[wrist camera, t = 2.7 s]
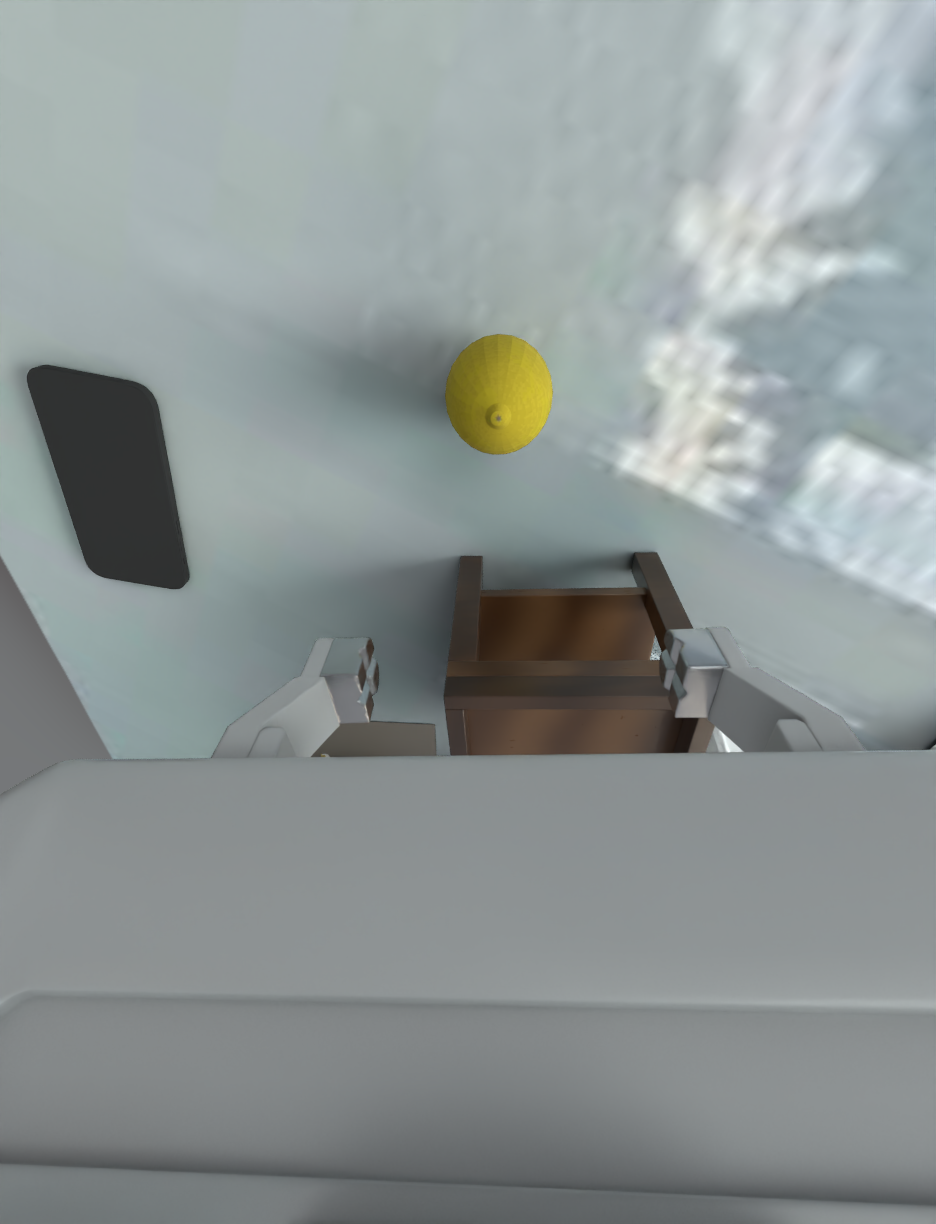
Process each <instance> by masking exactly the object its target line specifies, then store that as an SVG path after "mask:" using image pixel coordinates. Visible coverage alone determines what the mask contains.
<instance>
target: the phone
mask: <svg viewBox="0 0 936 1224" xmlns="http://www.w3.org/2000/svg"><path fill="white" fill-rule="evenodd" d="M27 383H28V387H29V390H30V393H31V396H32V399H33V402H34V406H35V409H36V412H37V415H38V418H39V421H40V424H41V427H42V430H43V433H44V436H45V439H46V442H47V445H48V448H49V452H50V455H51V458H52V461H53V464H54V467H55V470H56V473H57V476H58V479H59V482H60V485H61V488H62V491H63V494H64V497H65V501H66V504H67V507H68V510H69V513H70V516H71V519H72V522H73V525H74V528H75V531H76V534H77V537H78V540H79V543H80V547H81V550H82V553H83V556H84V559H85V561H86V564H87V565H88V567H89V568H90V569H91V571H93V572H94V573H95V574H97V575H99V576H101V577H104V578H109V579H115V580H121V581H127V582H133V583H138V584H144V585H150V586H156V587H162V588H169V589H180V588H182V587H183V586H184V585H185V584H186V583H187V582H188V580H189V571H188V566H187V560H186V555H185V549H184V544H183V539H182V533H181V528H180V522H179V517H178V512H177V506H176V501H175V495H174V490H173V485H172V479H171V474H170V468H169V463H168V458H167V452H166V447H165V441H164V436H163V431H162V425H161V420H160V414H159V409H158V405H157V402H156V400H155V398H154V396H153V394H152V393H151V392H150V391H149V390H148V389H147V388H146V387H145V386H143V385H141V384H139V383H136V382H133V381H128V380H123V379H118V378H113V377H108V376H103V375H98V374H93V373H88V372H82V371H77V370H72V369H67V368H62V367H56V366H50V365H42V366H38V367H35V368H32V369H31V370H29V372H28V374H27Z"/></svg>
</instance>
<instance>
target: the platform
mask: <svg viewBox="0 0 936 1224" xmlns="http://www.w3.org/2000/svg"><path fill="white" fill-rule="evenodd" d="M373 756H436V739H435V724H413V723H392V722H368V723H344V724H340V726H339V727H338V728H337V729H336V730H335V731H334V732H333V733H332V734H331V735H330V736H329V737H328V738H327V740H326V741H325V742H324V743H323V744H322V745H321V746H320V747H319V748H318V749H317V750H316V751H315V752H314V753H313V755H312V756H311V757H373Z"/></svg>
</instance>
